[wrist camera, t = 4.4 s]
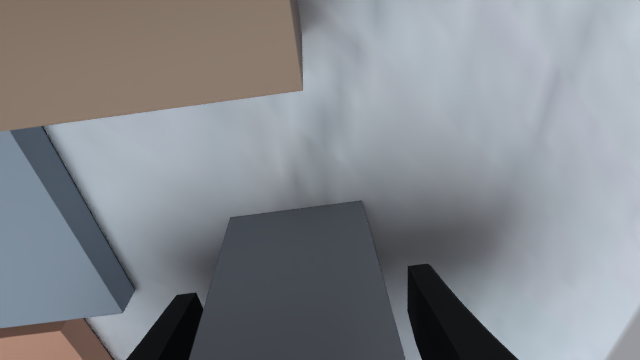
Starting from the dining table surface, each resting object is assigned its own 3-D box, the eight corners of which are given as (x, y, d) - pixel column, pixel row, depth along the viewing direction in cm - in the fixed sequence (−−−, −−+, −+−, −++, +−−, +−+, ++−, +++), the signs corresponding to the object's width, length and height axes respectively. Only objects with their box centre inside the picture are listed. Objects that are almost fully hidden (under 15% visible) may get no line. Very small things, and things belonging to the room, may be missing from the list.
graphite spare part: (368, 292, 14) (425, 554, 7) (258, 306, 14) (223, 575, 8) (361, 200, 11) (434, 465, 5) (230, 217, 12) (148, 497, 5)
